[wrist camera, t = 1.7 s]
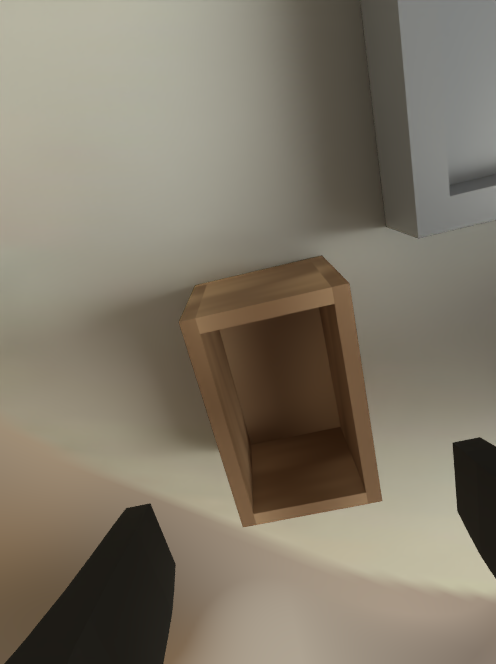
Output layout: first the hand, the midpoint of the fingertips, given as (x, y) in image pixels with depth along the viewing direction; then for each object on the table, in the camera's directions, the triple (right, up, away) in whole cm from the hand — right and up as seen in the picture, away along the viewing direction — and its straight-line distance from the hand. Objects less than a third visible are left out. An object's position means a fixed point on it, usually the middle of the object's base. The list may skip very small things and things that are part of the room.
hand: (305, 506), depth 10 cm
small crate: (0, +3, +8) cm, 8 cm away
